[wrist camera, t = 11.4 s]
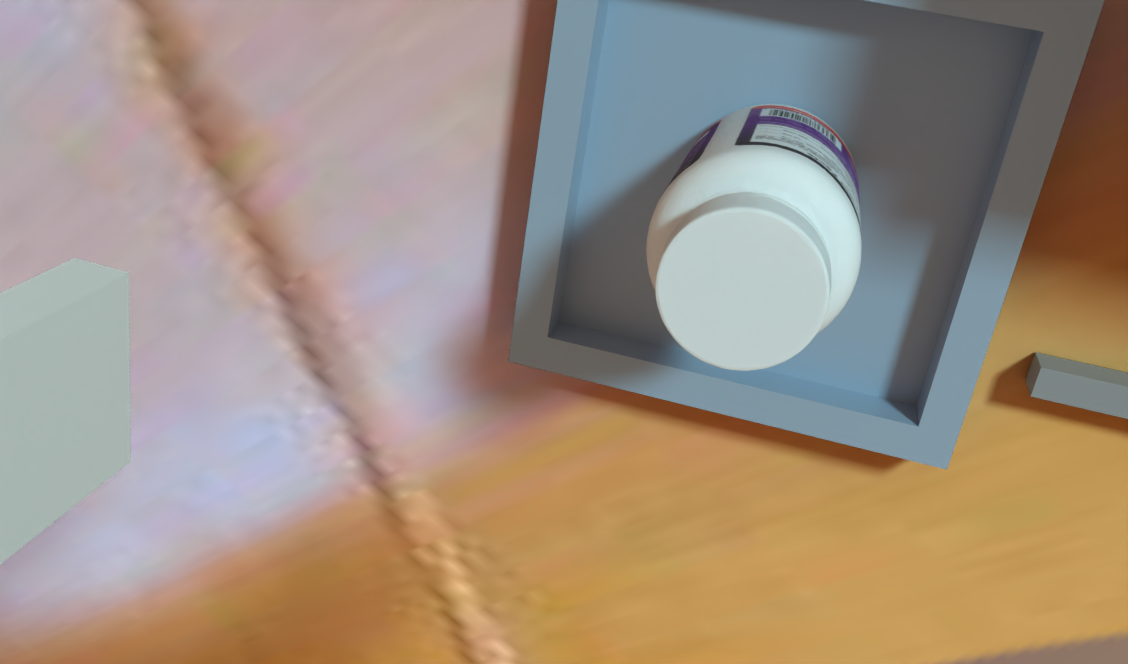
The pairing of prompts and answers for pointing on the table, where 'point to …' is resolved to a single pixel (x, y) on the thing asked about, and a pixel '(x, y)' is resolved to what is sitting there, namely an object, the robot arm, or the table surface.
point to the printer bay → (1078, 385)
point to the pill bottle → (756, 238)
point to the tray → (886, 191)
